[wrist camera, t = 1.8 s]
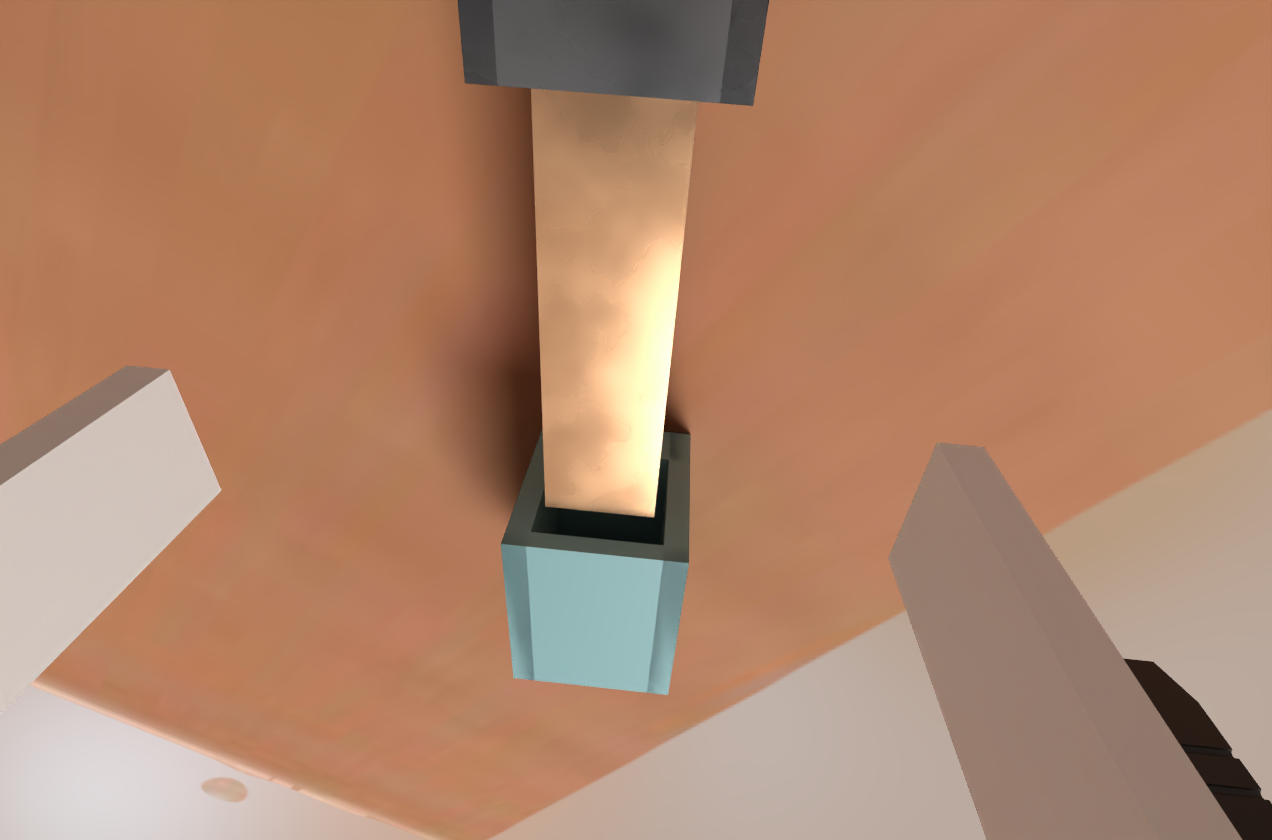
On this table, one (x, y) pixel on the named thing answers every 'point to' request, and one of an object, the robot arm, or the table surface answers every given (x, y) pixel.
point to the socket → (598, 583)
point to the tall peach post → (607, 288)
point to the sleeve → (617, 46)
